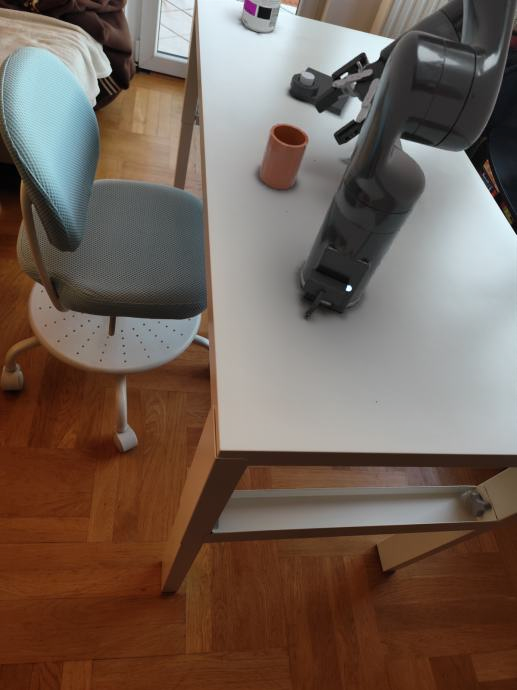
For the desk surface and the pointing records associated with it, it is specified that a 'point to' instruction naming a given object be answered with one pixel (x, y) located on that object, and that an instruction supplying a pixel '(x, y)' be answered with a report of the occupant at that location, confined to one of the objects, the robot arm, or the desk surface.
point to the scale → (316, 90)
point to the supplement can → (260, 14)
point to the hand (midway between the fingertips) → (325, 123)
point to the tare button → (306, 78)
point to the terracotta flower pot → (283, 156)
